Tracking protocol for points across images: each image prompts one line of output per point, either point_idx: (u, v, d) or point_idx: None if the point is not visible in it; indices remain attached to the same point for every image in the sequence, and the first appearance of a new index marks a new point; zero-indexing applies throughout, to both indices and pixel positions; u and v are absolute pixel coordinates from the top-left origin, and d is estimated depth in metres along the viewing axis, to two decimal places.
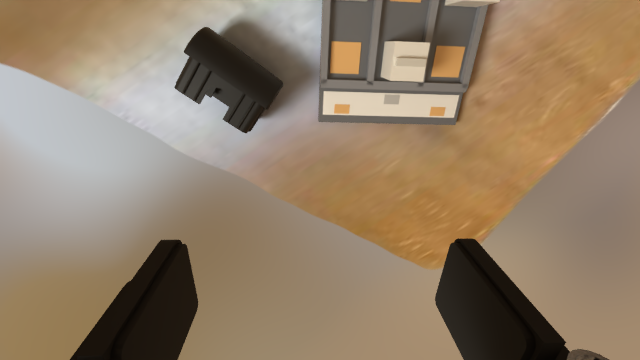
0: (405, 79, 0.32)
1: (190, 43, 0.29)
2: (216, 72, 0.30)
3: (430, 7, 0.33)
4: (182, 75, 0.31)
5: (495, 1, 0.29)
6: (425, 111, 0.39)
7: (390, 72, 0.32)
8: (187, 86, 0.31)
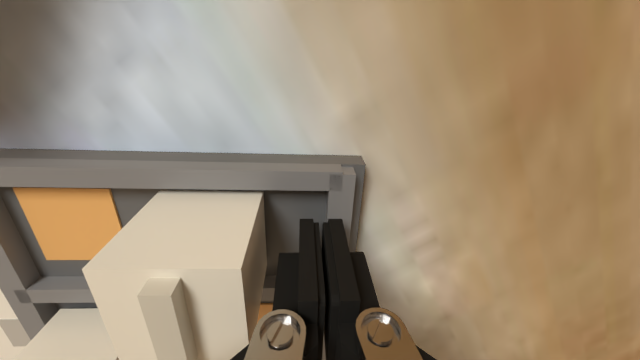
0: None
1: None
2: None
3: None
4: None
5: None
6: None
7: None
8: None
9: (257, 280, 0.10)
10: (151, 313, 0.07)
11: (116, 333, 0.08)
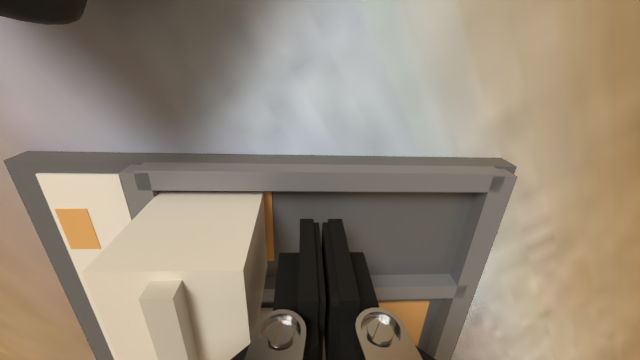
0: None
1: None
2: None
3: None
4: None
5: None
6: None
7: None
8: None
9: (258, 281, 0.10)
10: (153, 316, 0.07)
11: (117, 336, 0.08)
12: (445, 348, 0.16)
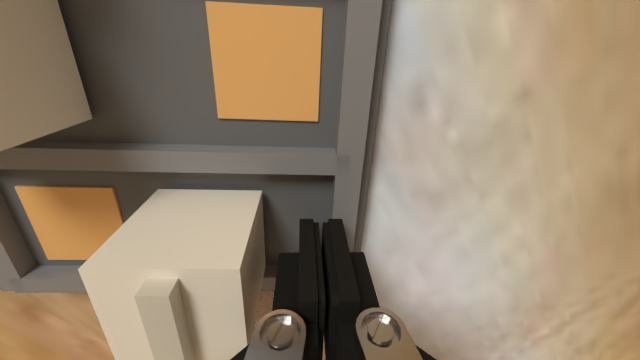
0: None
1: None
2: None
3: (203, 150, 0.10)
4: None
5: None
6: None
7: None
8: None
9: None
10: None
11: None
12: (354, 102, 0.10)
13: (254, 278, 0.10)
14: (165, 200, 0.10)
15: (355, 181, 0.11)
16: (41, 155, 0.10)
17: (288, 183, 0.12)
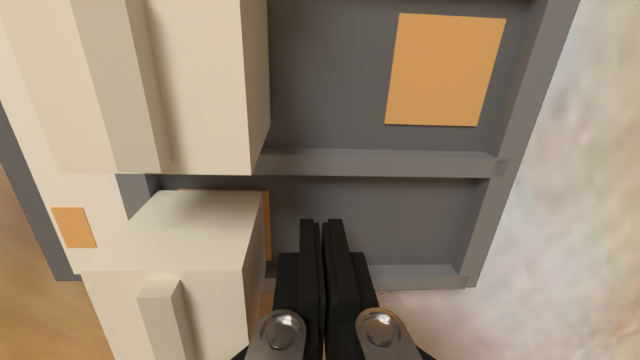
0: (33, 70, 0.05)
1: None
2: None
3: (371, 154, 0.11)
4: None
5: None
6: (62, 192, 0.11)
7: None
8: None
9: None
10: None
11: None
12: (526, 108, 0.10)
13: (255, 279, 0.10)
14: (165, 202, 0.10)
15: (507, 183, 0.11)
16: None
17: (433, 185, 0.12)
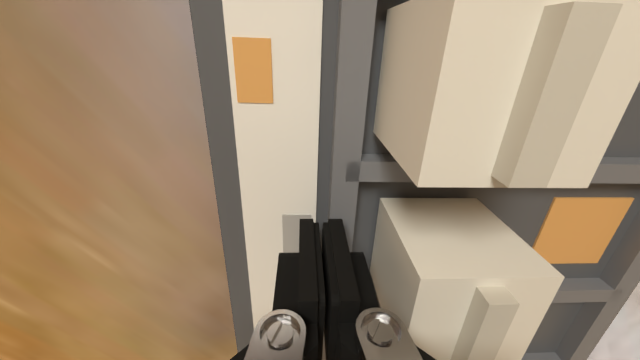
0: (417, 325, 0.08)
1: None
2: None
3: None
4: None
5: None
6: None
7: (444, 265, 0.08)
8: None
9: None
10: (573, 44, 0.05)
11: (441, 126, 0.06)
12: None
13: None
14: None
15: (619, 304, 0.14)
16: None
17: None
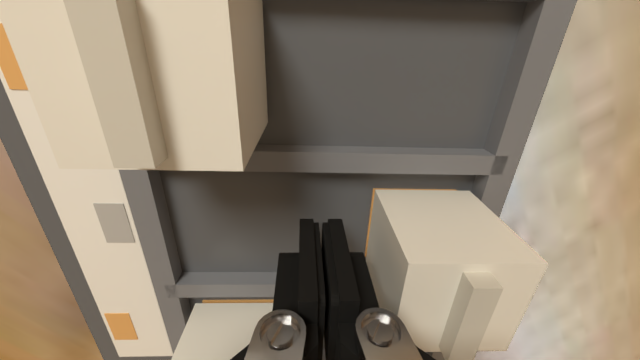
0: (406, 309, 0.09)
1: None
2: None
3: None
4: None
5: None
6: (113, 303, 0.14)
7: (432, 252, 0.08)
8: None
9: (254, 94, 0.08)
10: (82, 18, 0.05)
11: (46, 105, 0.06)
12: None
13: None
14: (202, 319, 0.13)
15: None
16: (238, 288, 0.13)
17: None
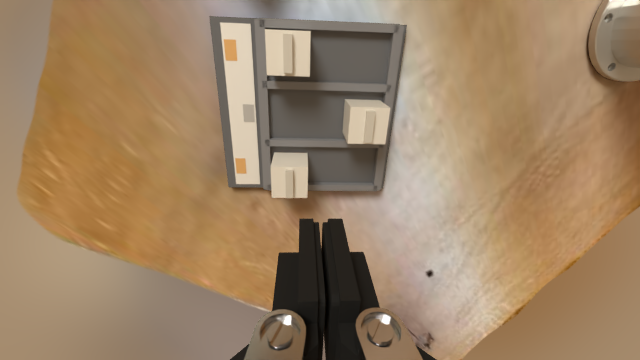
0: (351, 124, 0.29)
1: None
2: None
3: (339, 140, 0.34)
4: None
5: (272, 194, 0.32)
6: (239, 153, 0.35)
7: (358, 106, 0.29)
8: None
9: None
10: (285, 41, 0.25)
11: (268, 59, 0.26)
12: None
13: None
14: (279, 155, 0.34)
15: (384, 150, 0.35)
16: (293, 142, 0.34)
17: (362, 151, 0.35)
